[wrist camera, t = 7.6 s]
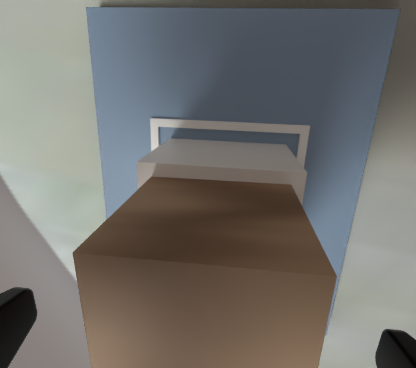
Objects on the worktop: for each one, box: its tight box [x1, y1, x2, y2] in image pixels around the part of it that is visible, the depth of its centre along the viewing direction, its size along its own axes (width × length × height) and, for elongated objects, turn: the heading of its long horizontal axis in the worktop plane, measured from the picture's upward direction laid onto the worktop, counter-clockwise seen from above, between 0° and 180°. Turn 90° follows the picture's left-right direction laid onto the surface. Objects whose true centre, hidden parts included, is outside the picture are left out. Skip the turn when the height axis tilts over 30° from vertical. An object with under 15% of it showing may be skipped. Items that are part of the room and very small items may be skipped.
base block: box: [136, 138, 307, 205], centre depth 13 cm, size 6×6×5 cm
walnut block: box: [73, 177, 337, 368], centre depth 8 cm, size 5×5×5 cm
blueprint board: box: [86, 7, 400, 335], centre depth 16 cm, size 14×18×1 cm
